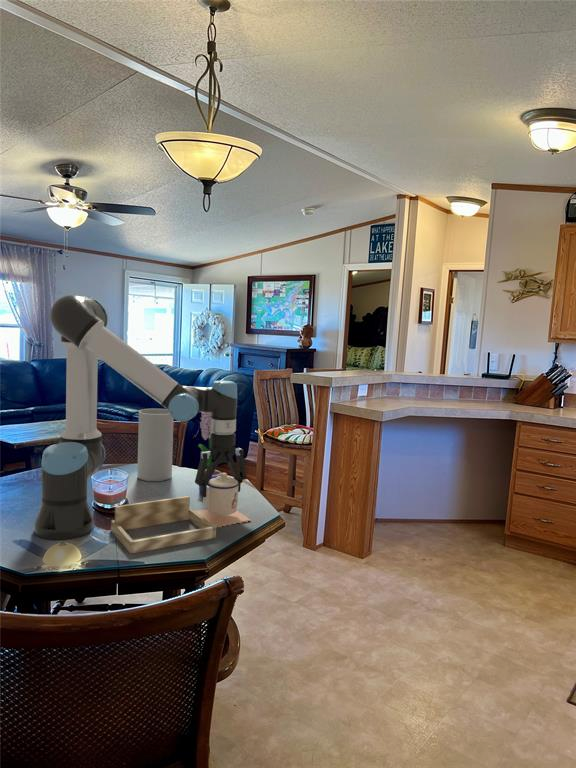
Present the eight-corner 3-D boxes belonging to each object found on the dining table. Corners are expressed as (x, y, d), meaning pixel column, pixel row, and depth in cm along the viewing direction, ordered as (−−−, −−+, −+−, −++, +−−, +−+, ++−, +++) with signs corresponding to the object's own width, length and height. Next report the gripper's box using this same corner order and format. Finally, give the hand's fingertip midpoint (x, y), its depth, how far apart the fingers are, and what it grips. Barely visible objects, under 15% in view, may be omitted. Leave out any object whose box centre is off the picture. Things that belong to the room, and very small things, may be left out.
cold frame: (130, 553, 142) (131, 527, 141) (111, 530, 156) (111, 506, 155) (215, 537, 155) (216, 513, 155) (190, 517, 169) (191, 495, 169)
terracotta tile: (208, 529, 161) (208, 527, 161) (189, 513, 173) (189, 511, 173) (250, 521, 169) (250, 519, 169) (229, 507, 181) (229, 505, 180)
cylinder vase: (143, 483, 200) (145, 415, 197) (132, 474, 211) (134, 409, 208) (176, 480, 207) (178, 413, 204) (164, 471, 217) (166, 408, 214)
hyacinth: (223, 497, 190) (227, 410, 186) (193, 495, 190) (196, 408, 187) (226, 489, 199) (230, 406, 195) (198, 488, 199) (201, 404, 195)
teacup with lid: (238, 515, 166) (239, 477, 164) (207, 516, 164) (208, 477, 163) (235, 502, 178) (237, 466, 176) (206, 502, 176) (207, 466, 175)
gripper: (194, 437, 159) (192, 513, 161) (260, 432, 171) (257, 503, 173) (184, 432, 165) (182, 505, 168) (248, 427, 177) (245, 496, 180)
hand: (220, 504), depth 170 cm, fingers closed on teacup with lid, 9 cm apart
